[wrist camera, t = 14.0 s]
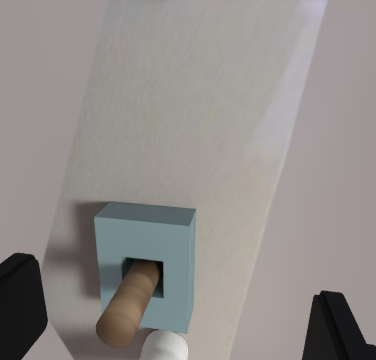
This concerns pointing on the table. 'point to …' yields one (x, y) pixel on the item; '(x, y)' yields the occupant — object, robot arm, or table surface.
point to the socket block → (149, 257)
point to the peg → (129, 303)
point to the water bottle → (164, 346)
